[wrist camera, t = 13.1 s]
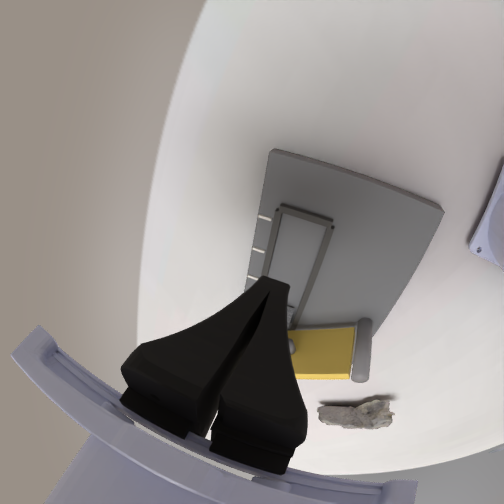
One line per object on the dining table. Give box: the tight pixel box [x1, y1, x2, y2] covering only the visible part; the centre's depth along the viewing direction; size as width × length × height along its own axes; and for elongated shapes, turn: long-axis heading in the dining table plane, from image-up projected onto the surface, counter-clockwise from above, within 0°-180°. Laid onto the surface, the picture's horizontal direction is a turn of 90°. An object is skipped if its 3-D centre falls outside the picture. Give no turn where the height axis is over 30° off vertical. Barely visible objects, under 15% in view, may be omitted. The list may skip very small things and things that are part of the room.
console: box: [244, 149, 445, 383], centre depth 21 cm, size 13×20×7 cm, turn 171°
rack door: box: [288, 327, 355, 379], centre depth 22 cm, size 2×7×5 cm, turn 112°
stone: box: [317, 400, 395, 429], centre depth 31 cm, size 6×12×4 cm, turn 123°
